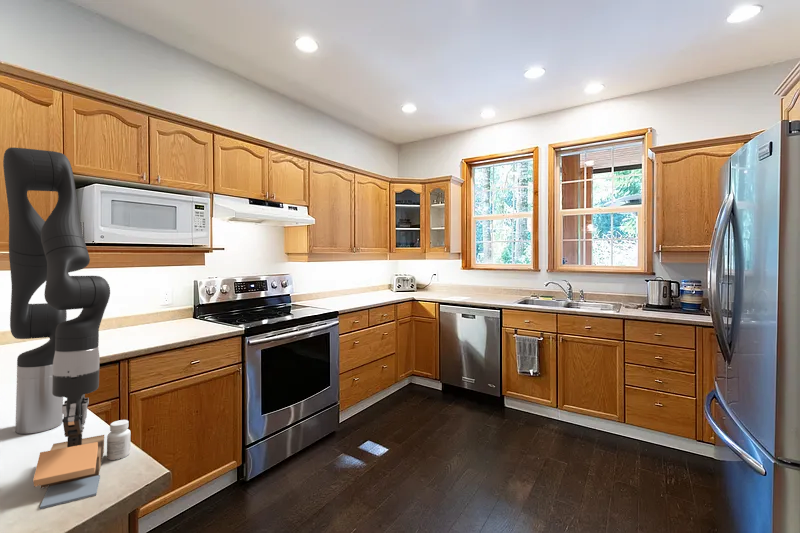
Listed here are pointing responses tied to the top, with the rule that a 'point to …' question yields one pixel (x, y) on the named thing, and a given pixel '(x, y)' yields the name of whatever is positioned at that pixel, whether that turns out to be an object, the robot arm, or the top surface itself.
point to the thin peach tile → (66, 463)
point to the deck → (84, 441)
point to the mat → (70, 491)
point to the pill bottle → (118, 440)
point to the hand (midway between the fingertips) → (74, 451)
